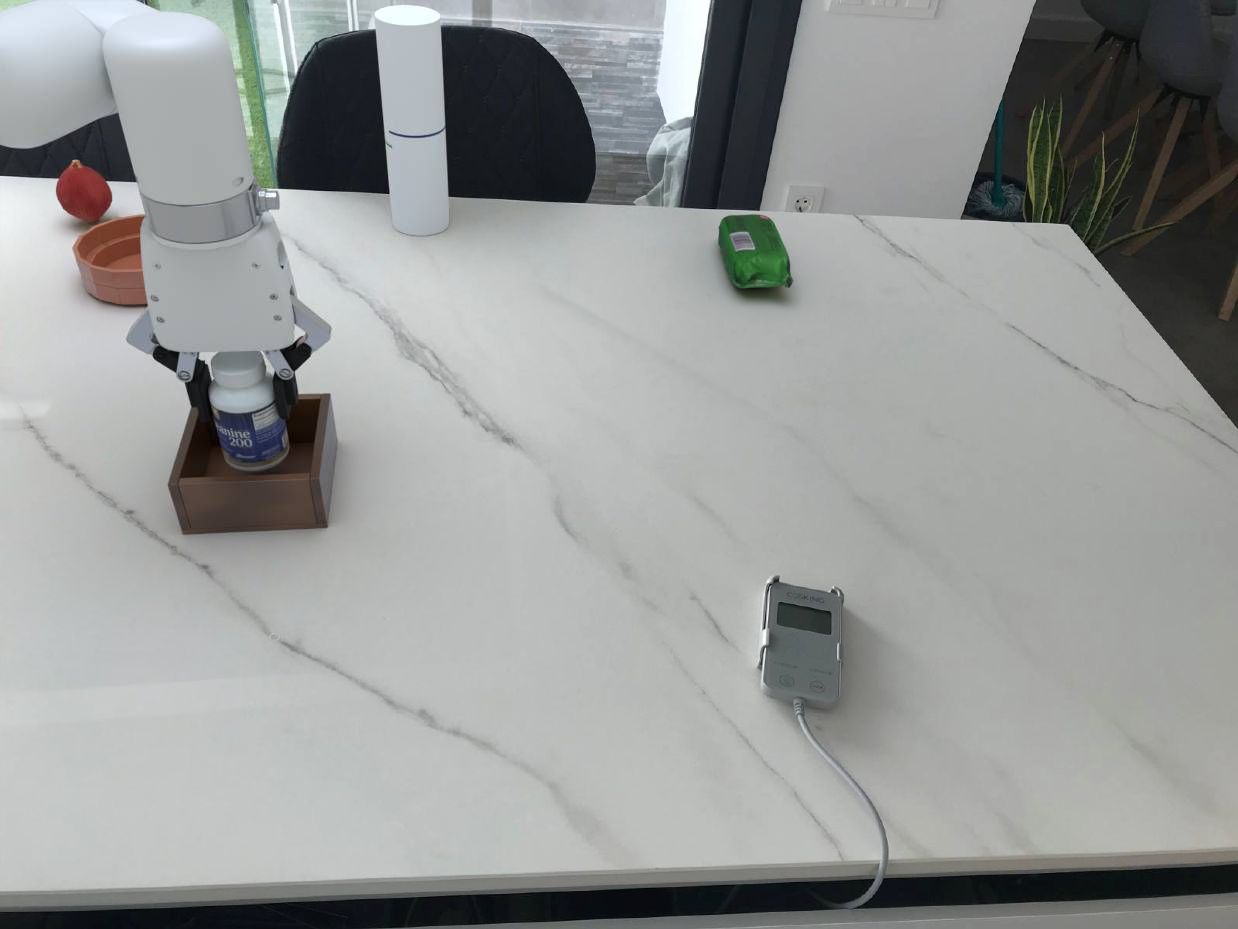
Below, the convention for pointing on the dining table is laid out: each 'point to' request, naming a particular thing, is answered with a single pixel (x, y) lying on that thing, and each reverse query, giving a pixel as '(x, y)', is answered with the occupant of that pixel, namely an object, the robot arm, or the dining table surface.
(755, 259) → the snack package
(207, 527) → the holder
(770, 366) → the dining table surface
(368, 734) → the dining table surface
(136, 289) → the bowl
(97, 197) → the onion
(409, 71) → the cylindrical container
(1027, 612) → the dining table surface
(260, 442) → the pill bottle
